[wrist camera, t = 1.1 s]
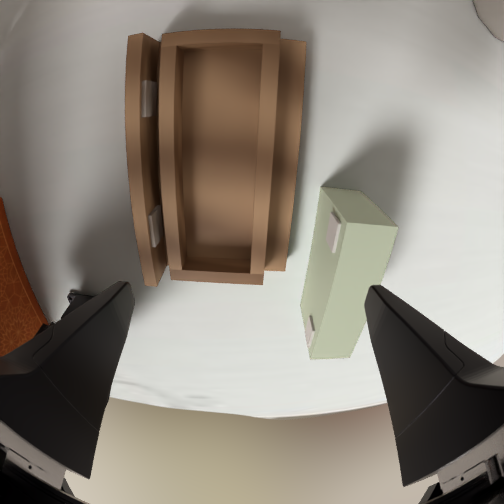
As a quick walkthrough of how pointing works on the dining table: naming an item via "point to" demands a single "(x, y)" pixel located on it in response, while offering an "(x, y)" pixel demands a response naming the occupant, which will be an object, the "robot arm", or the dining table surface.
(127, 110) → the box
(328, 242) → the pale green box
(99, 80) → the dining table surface
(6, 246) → the book
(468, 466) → the robot arm
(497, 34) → the flask
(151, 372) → the dining table surface
